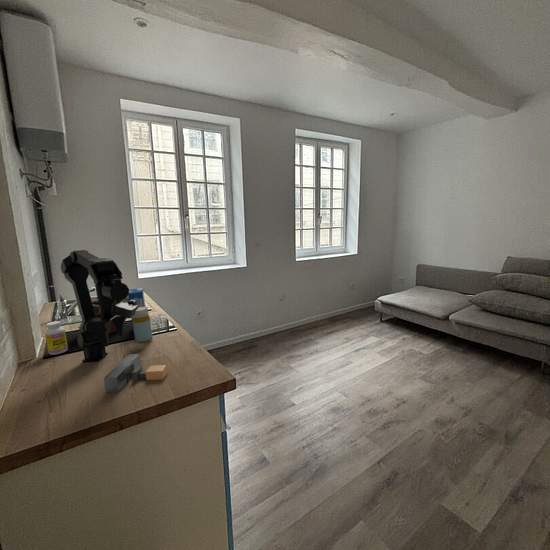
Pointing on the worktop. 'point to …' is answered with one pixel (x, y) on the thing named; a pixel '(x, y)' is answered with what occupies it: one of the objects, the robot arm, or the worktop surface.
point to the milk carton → (137, 298)
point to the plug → (150, 373)
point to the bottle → (142, 325)
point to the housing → (121, 373)
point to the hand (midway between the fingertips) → (114, 340)
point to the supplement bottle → (56, 338)
